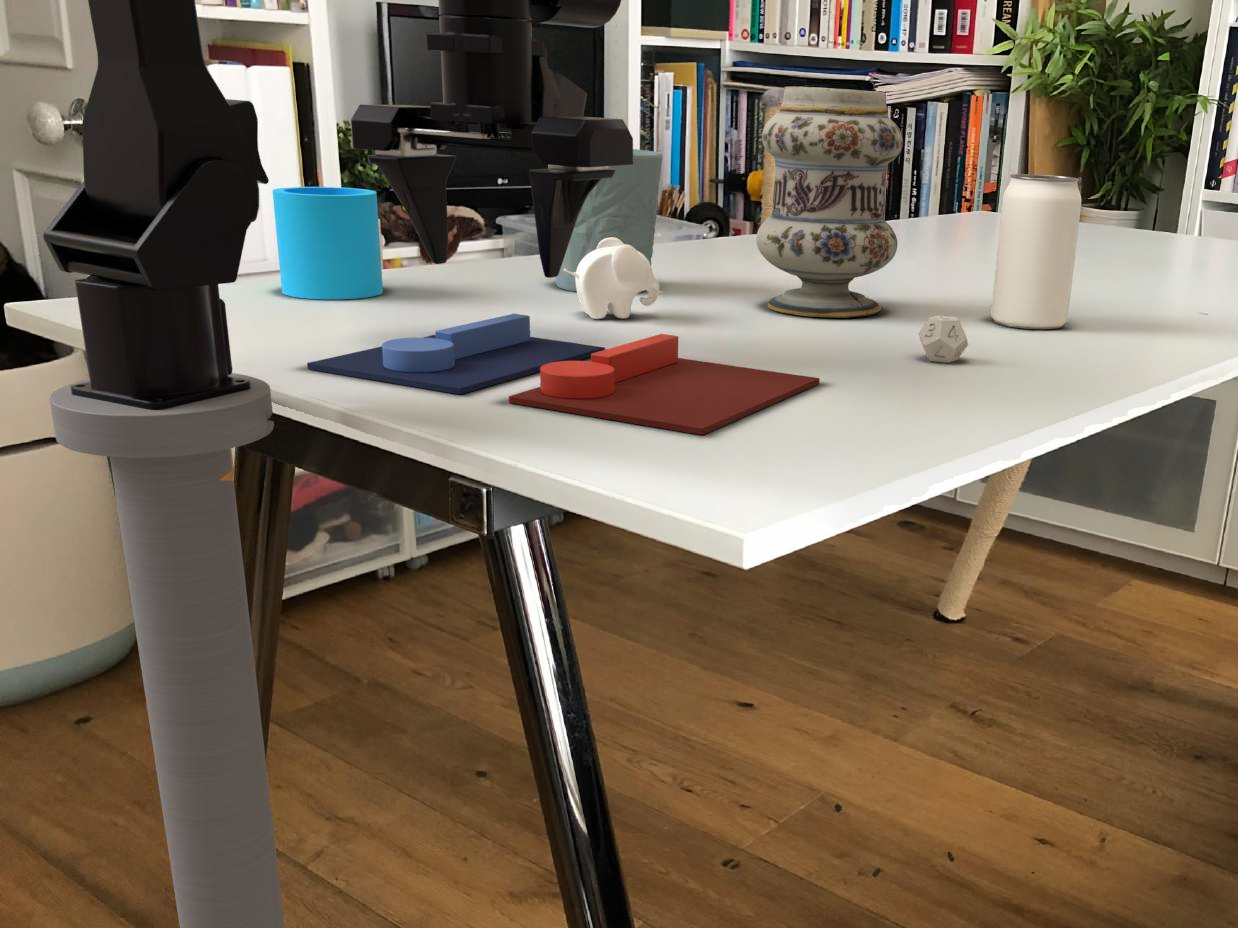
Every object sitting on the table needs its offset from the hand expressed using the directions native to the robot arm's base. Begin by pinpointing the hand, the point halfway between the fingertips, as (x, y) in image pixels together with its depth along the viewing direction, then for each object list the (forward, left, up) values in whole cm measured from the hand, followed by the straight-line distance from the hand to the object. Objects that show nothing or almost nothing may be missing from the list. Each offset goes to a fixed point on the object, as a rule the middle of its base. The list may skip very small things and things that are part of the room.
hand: (494, 270), depth 89 cm
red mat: (-4, -16, -6) cm, 17 cm away
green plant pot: (+30, +10, -6) cm, 33 cm away
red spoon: (-4, -12, -5) cm, 14 cm away
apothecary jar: (+32, -11, -6) cm, 34 cm away
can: (+37, -28, -6) cm, 47 cm away
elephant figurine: (+17, +1, -6) cm, 18 cm away
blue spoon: (-4, 0, -5) cm, 6 cm away
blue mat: (-4, 0, -6) cm, 7 cm away
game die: (+17, -27, -6) cm, 32 cm away
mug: (+13, +27, -6) cm, 31 cm away
